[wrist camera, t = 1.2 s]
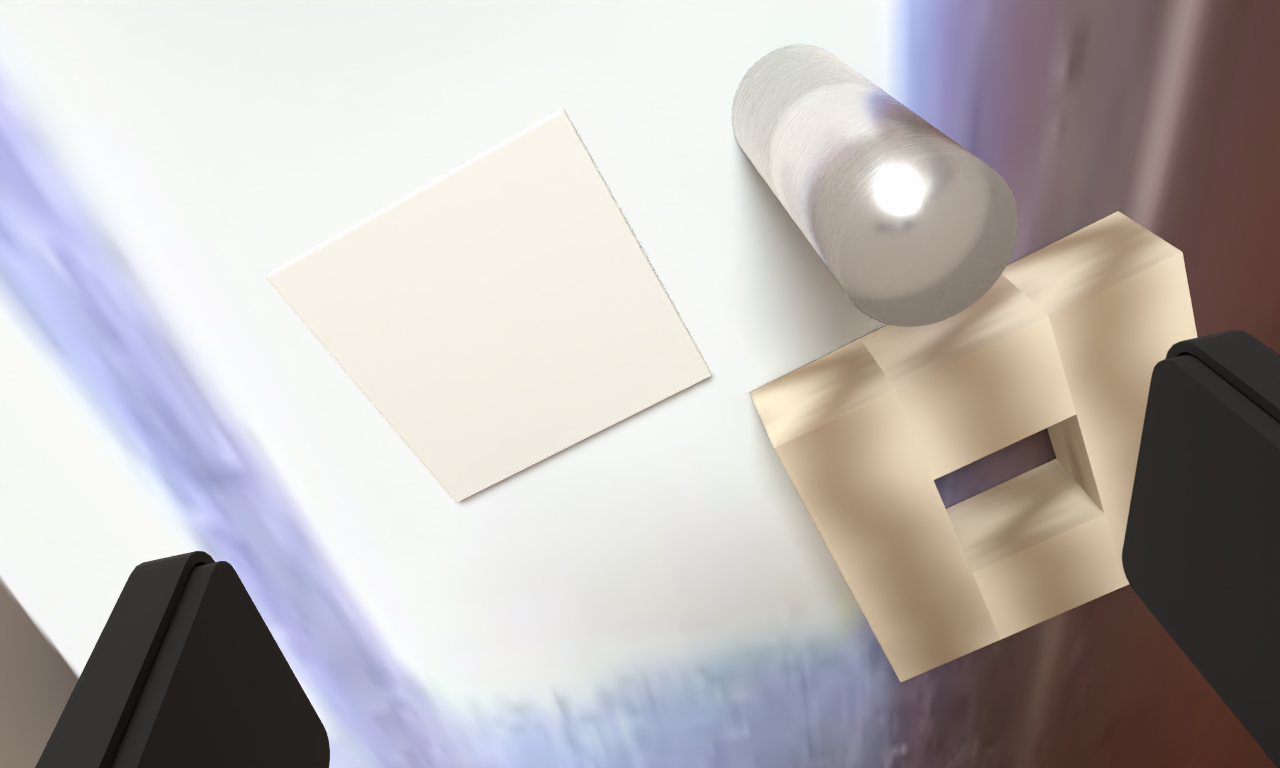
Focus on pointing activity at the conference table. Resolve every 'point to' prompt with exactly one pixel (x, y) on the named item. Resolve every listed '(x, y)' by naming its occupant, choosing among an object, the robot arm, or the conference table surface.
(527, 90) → the conference table surface
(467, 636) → the conference table surface
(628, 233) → the mat
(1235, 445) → the robot arm
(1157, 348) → the socket block
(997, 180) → the steel cylinder
